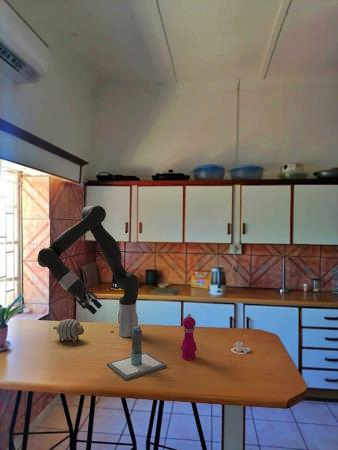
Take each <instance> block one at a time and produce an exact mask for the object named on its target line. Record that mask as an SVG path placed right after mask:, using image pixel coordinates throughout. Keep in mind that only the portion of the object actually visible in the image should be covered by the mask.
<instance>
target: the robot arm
mask: <svg viewBox="0 0 338 450" xmlns="http://www.w3.org/2000/svg"><path fill="white" fill-rule="evenodd" d="M106 215H107V212H106V210H105V208H104V207H103V206H100V205H87V206H85V207H84V208H83V209H82V211H81V218H82V220H80V221H79V222H78V223H76V224H74V225H73V226H71V227H69V228H67V229H66V230H65V231H63V232H62V233H61V234H60V235H58V236H57V237H56V238H55V239H54V240H53V241H52V243H51V244H50V246H48V247H43V248H41V249H40V250H39V252H38V254H37V261H36V262H37V264H38V265H39V266H40V267H41V268H47V269H48V270H49V271H50V274H51V276H52V277H53V278H54V279H55V280H56V281H57V283H58V284H59V285H60V286H61V287H62V288H63V290H65V291H66V292H67V293H68V294H69V295H70V297H72V298H74V300H75V301H76V303H78V305H79V306H80V307H82V308H83V310H88V311H89V312H90V313H91V314H92V315H95V314H97V312H98V310H99V309H101V308H102V306H103V304H102V303H100V301H99V300H98V297H97V295H96V294H95V293H94V292H93V291H92V290H91V289H89V288H86V289H85V287H86V284H85V283H84V282H83V280H82V279H81V278H79V277H78V275H77V274H75V273H74V272H73V271H71V269H70V268H69V267H68V266H67V265H66V264H65V263H64V262H63V261H62V259H61V258H60V257H61V256H62V255H63V253H65V252H66V251H68V249H69V248H70V247H72V246H73V245H74V244H75V243H76V242H77V241H78V240H79V239H81V238H82V237H83V236H84V235H85V234H86V233H88V232H91V234H92V236H93V238H94V241H95V242H96V244H97V245H98V248H99V250H100V252H101V254H102V256H103V257H104V259H105V261H106V263H107V265H108V267H109V269H110V270H111V272H112V273H111V274H112V275H113V278H114V280H115V283H116V285H117V287H118V288H119V289H120V290H122V291H123V296H121V297H119V302H118V303H119V305H118V307H119V308H118V309H119V310H118V314H119V315H118V316H119V318H118V336H119V337H121V338H132V330H133V327H134V326H139V325H138V323H139V321H138V319H139V317H138V316H137V299H138V298H139V283H140V282H139V278H138V276H137V275H136V274H133V273H128V272H127V271H126V269H125V267H124V265H123V261H122V259H123V257H122V256H123V255H122V251H121V248H120V247H119V244H118V242H117V240H116V239H115V237H114V236H112V235H111V234H110V233H109V232H108V231H107V229H105V228H104V225H103V224H102V223H104V221H105V219H106V217H107V216H106ZM92 304H93V305H92ZM94 306H95V307H96V308H97V309H98V310H97V309H96V308H95V307H94Z"/></svg>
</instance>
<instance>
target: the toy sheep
mask: <svg viewBox="0 0 338 450" xmlns="http://www.w3.org/2000/svg"><path fill="white" fill-rule="evenodd" d="M52 329H53V330H56V333H57V335H58V341H59V342H60V343H61V342H62V340H65V341H70V340H71V341H72V343H73V344H75V343H76V341H79V338H80V337H79V336H81V335H83V334H84V333H85V328H84V327H83V324H82V325H81V323H80V321H79V320H76V319H73V318H67V319H62V320H60V321H59V323H58V324H57V326H53V327H52Z"/></svg>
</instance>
